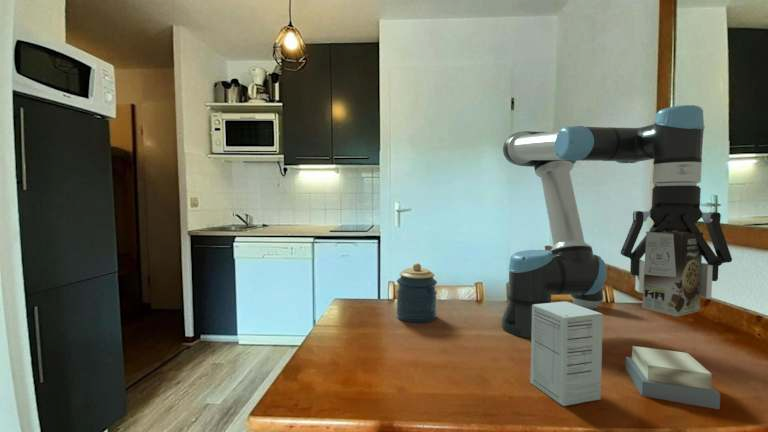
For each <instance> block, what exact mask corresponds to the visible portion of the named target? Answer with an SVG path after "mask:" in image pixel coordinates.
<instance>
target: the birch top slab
mask: <svg viewBox="0 0 768 432" xmlns="http://www.w3.org/2000/svg"><path fill="white" fill-rule="evenodd" d="M631 351H632V352H631V357H632V360H633V361H634V362H635V364H636V365H637V366H638V368H639V369H640V370H641V372H642V373H643V374H644V376H645V377H646V378H647V380H651V381H658V382H665V383H671V384H678V385H684V386H691V387H697V388H704V389H710V390H711V385H712V379H713V377H712V375H713V373H711V371H710V370H708V369H706V368H705V366H704V365H702V364H701V363H700V362H699V361H697V360H696V359H695V358H694V357H693V356H692V355H690V354H689V353H688V352H682V351H676V350H675V351H674V350H667V349H659V348H652V347H651V348H650V347H643V346H635V345H632V350H631Z"/></svg>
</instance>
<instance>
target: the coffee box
mask: <svg viewBox="0 0 768 432" xmlns="http://www.w3.org/2000/svg"><path fill="white" fill-rule="evenodd" d="M700 233H701V235H702V236H703V235H704V232H700ZM645 236H646V247H645V254H644V261H645V266H644V291H643V293H642V296H643V297H642V309H644V310H649V311H652V312H657V313H660V314H665V315H669V316H670V317H671V316H672V317H676V318H677V317H681V316H685V315H689V314H693V313H697V312H699V311H700V308H701V307H700V306H701V295H700V287H701V263H703V262H702V261H703V256H702V254H701V251H700V249H699V246H698V243H697V241H696V235H695V234H694V233H690V232H680V231H663V232H649V231H645ZM703 237H704V236H703Z"/></svg>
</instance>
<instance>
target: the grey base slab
mask: <svg viewBox="0 0 768 432" xmlns="http://www.w3.org/2000/svg"><path fill="white" fill-rule="evenodd" d="M625 370H626V372H627V374H628V376H629V377H630V379H631V380H632V382H633V384H634V385H635V387H636V388H637V390H638V392H639V393H640V395H641V397H647V398H652V399H657V400H658V399H659V400H664V401H670V402H674V403H680V404H687V405H693V406H697V407H704V408H709V409H715V410H720V408H721V393H720V392H719V391H718V390H717V389H716V388H715V387H714V386H713V385H712V384H711V390H710V389H704V388H697V387H691V386H684V385H678V384H671V383H665V382H658V381H651V380H647V378H646V377H645V376H644V374H643V373H642V372H641V370H640V369H639V368H638V366H637V365H636V364H635V362H634V361H633V360H632V356H625Z"/></svg>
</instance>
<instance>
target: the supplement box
mask: <svg viewBox="0 0 768 432" xmlns="http://www.w3.org/2000/svg"><path fill="white" fill-rule="evenodd" d="M603 323H604V314H603V313H601V312H599V311H596V310H593V309H587V308H584V307H581V306H578V305H576V304H575V303H573V302H572V303H571V302H569V301H556V302H551V303H543V304H533V305H532V333H531V338H530V340H531V341H530V342H531V345H530V346H531V347H530V376H529V377H530V378H529V379H530V380H529V381H530V384H531V385H533V386H534V387H536V388H537V389H539V390H540V391H541V392H542V393H544V394H546V395H547V396H549V397H550V398H551V399H553V400H554V401H556V402H557V403H558V404H559V405H560V406H562V407H567V406H572V405H577V404H583V403H587V402H588V403H589V402H592V401H593V402H594V401H600V400H601V399H602V370H603V369H602V366H603V365H602V363H603V361H602V360H603V358H602V357H603V332H604V331H603V325H604V324H603Z"/></svg>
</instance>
